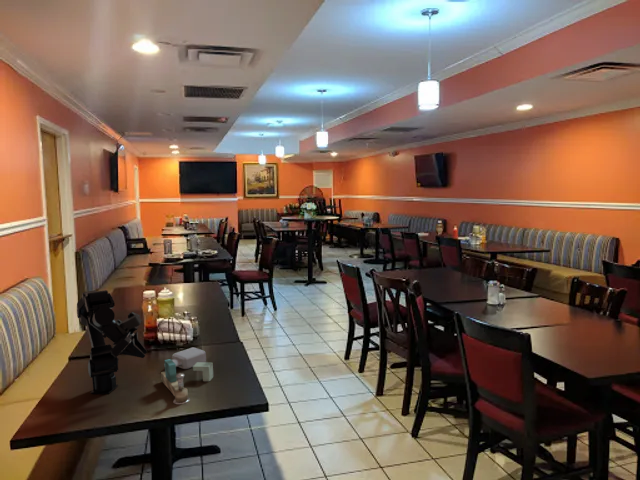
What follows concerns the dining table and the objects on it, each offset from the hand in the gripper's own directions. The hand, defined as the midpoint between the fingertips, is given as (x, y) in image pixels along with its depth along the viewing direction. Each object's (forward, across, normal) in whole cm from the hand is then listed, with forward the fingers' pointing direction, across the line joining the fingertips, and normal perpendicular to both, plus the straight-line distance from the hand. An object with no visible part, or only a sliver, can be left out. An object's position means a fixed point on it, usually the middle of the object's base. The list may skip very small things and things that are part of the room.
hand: (145, 354), depth 158 cm
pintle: (+17, -11, 0) cm, 20 cm away
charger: (+16, +20, +2) cm, 26 cm away
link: (+15, -3, +2) cm, 15 cm away
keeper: (+22, +5, -4) cm, 23 cm away
